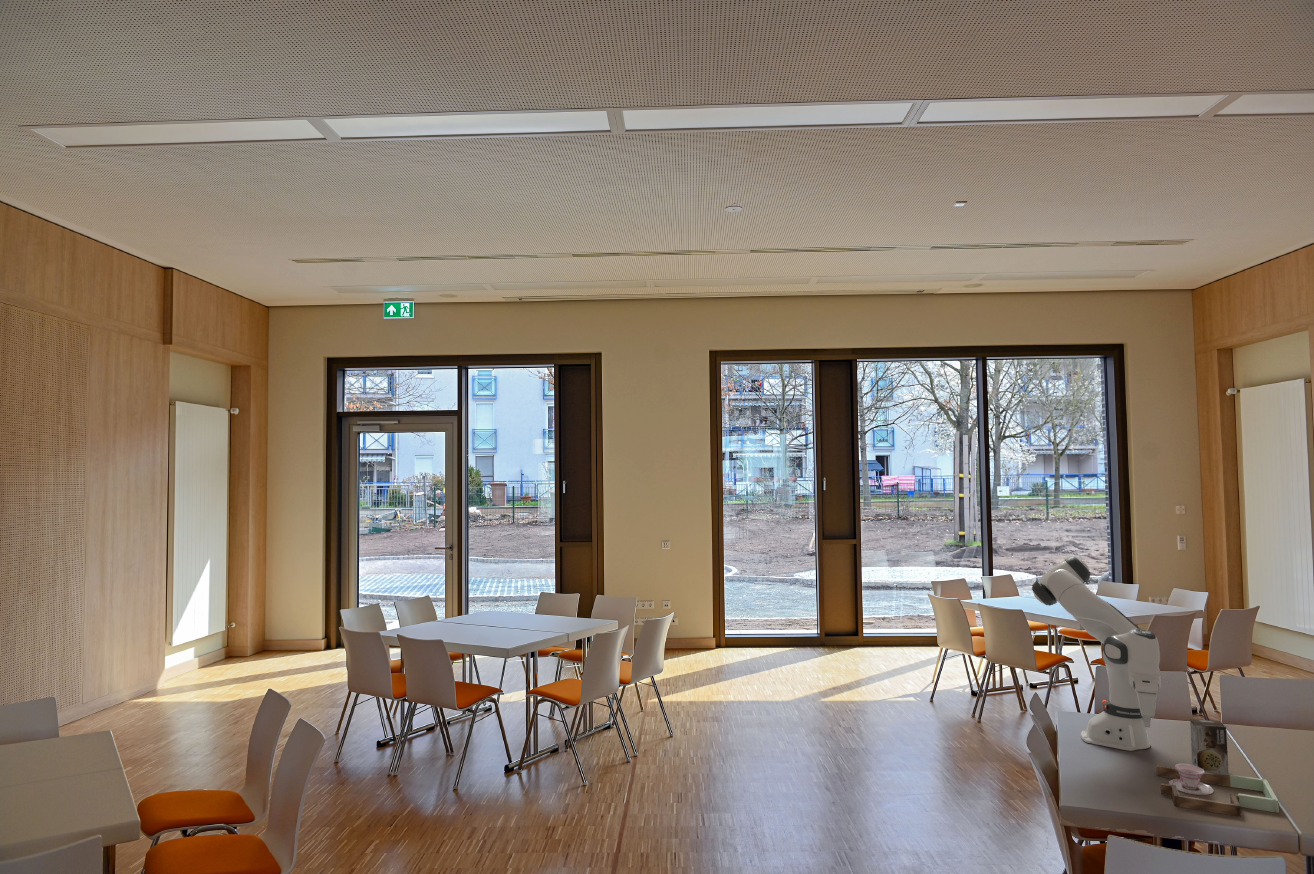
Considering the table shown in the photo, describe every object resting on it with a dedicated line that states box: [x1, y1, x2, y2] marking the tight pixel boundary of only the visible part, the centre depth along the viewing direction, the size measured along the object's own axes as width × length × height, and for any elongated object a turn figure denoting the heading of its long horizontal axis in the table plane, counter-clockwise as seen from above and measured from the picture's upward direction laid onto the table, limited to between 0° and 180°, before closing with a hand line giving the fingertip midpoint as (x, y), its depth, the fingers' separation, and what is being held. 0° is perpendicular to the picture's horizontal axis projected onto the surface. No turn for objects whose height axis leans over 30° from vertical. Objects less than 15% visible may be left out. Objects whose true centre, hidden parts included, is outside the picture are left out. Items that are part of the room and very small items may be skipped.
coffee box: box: [1189, 718, 1230, 776], centre depth 268 cm, size 9×6×16 cm
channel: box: [1156, 765, 1242, 817], centre depth 249 cm, size 20×25×3 cm
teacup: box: [1168, 763, 1215, 796], centre depth 255 cm, size 12×12×6 cm
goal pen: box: [1228, 774, 1280, 814], centre depth 246 cm, size 10×17×4 cm, turn 152°
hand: (1146, 723), depth 260 cm, fingers open, 6 cm apart
